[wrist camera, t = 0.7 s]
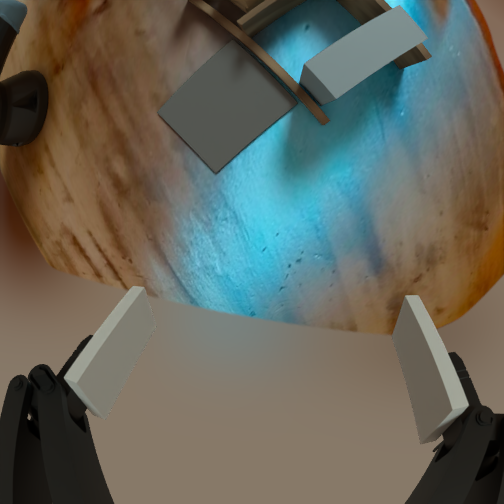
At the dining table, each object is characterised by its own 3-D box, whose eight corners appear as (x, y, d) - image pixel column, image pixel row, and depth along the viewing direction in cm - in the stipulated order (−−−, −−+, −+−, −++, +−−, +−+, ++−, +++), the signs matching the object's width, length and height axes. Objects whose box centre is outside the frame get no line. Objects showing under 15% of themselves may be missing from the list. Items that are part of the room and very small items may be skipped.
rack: (187, 0, 24) (164, -21, 17) (269, -55, 18) (264, -83, 11) (321, 125, 31) (331, 126, 24) (404, 66, 25) (431, 56, 18)
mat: (158, 112, 32) (157, 112, 32) (233, 40, 27) (232, 39, 26) (216, 172, 35) (215, 173, 35) (297, 103, 30) (297, 103, 29)
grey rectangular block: (299, 82, 29) (304, 63, 18) (367, 35, 24) (399, 5, 13) (320, 106, 30) (336, 99, 19) (387, 59, 25) (428, 38, 14)
